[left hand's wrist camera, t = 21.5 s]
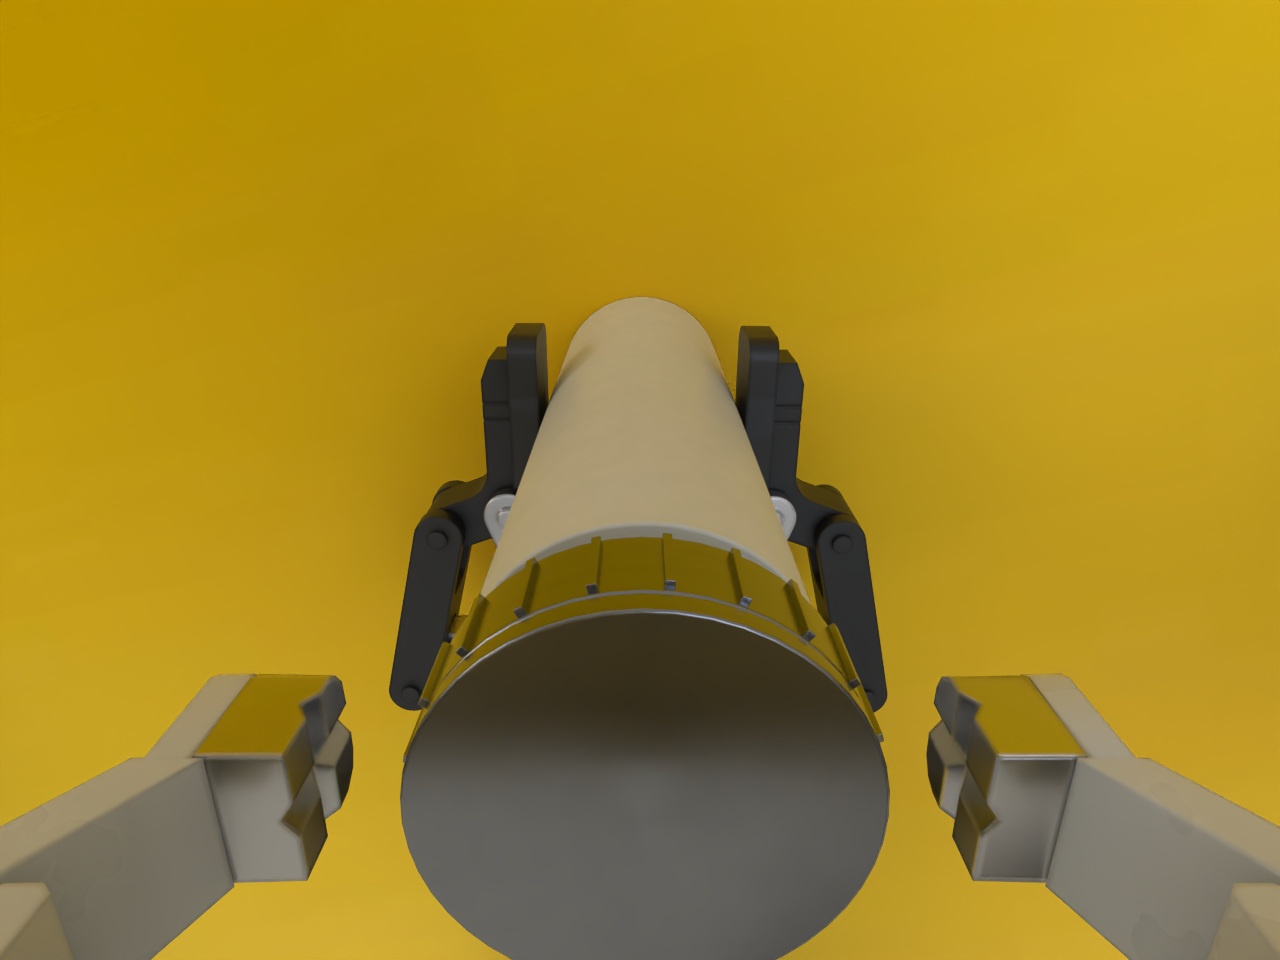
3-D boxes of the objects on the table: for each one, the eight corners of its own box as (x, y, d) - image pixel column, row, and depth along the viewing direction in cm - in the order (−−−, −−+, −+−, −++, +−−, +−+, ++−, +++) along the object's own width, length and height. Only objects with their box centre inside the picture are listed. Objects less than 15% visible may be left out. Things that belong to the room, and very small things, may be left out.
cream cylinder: (537, 340, 26) (349, 685, 9) (676, 268, 25) (752, 505, 8) (608, 469, 28) (561, 963, 11) (742, 406, 27) (915, 835, 10)
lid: (812, 476, 9) (846, 543, 8) (892, 834, 11) (933, 944, 9) (362, 593, 10) (309, 676, 8) (513, 915, 12) (494, 1031, 10)
